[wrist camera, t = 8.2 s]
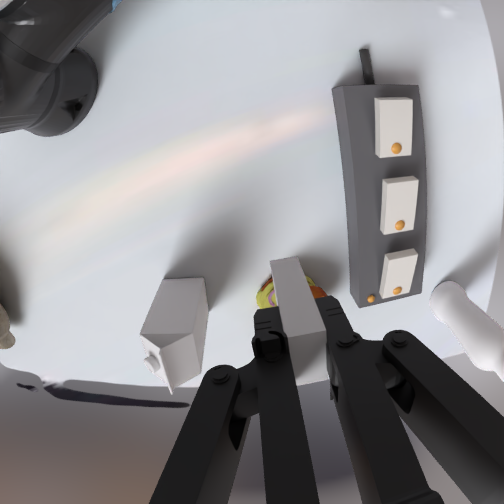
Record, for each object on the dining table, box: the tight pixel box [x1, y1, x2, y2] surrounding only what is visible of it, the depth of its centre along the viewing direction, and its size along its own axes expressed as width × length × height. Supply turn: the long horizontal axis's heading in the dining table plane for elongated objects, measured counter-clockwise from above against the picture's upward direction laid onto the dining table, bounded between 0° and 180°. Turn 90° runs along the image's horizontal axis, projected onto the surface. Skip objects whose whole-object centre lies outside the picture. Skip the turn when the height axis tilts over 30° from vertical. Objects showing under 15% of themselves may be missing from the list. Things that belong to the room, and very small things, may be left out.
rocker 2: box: [380, 176, 419, 235], centre depth 40 cm, size 8×5×2 cm, turn 10°
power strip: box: [332, 49, 427, 308], centre depth 43 cm, size 40×12×6 cm, turn 10°
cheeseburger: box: [256, 276, 327, 309], centre depth 50 cm, size 10×11×10 cm
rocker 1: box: [374, 97, 413, 158], centre depth 36 cm, size 8×5×2 cm, turn 10°
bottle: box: [429, 281, 504, 382], centre depth 42 cm, size 8×8×30 cm
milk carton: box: [140, 277, 209, 394], centre depth 44 cm, size 7×7×19 cm
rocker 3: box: [379, 248, 418, 299], centre depth 45 cm, size 8×5×2 cm, turn 10°
